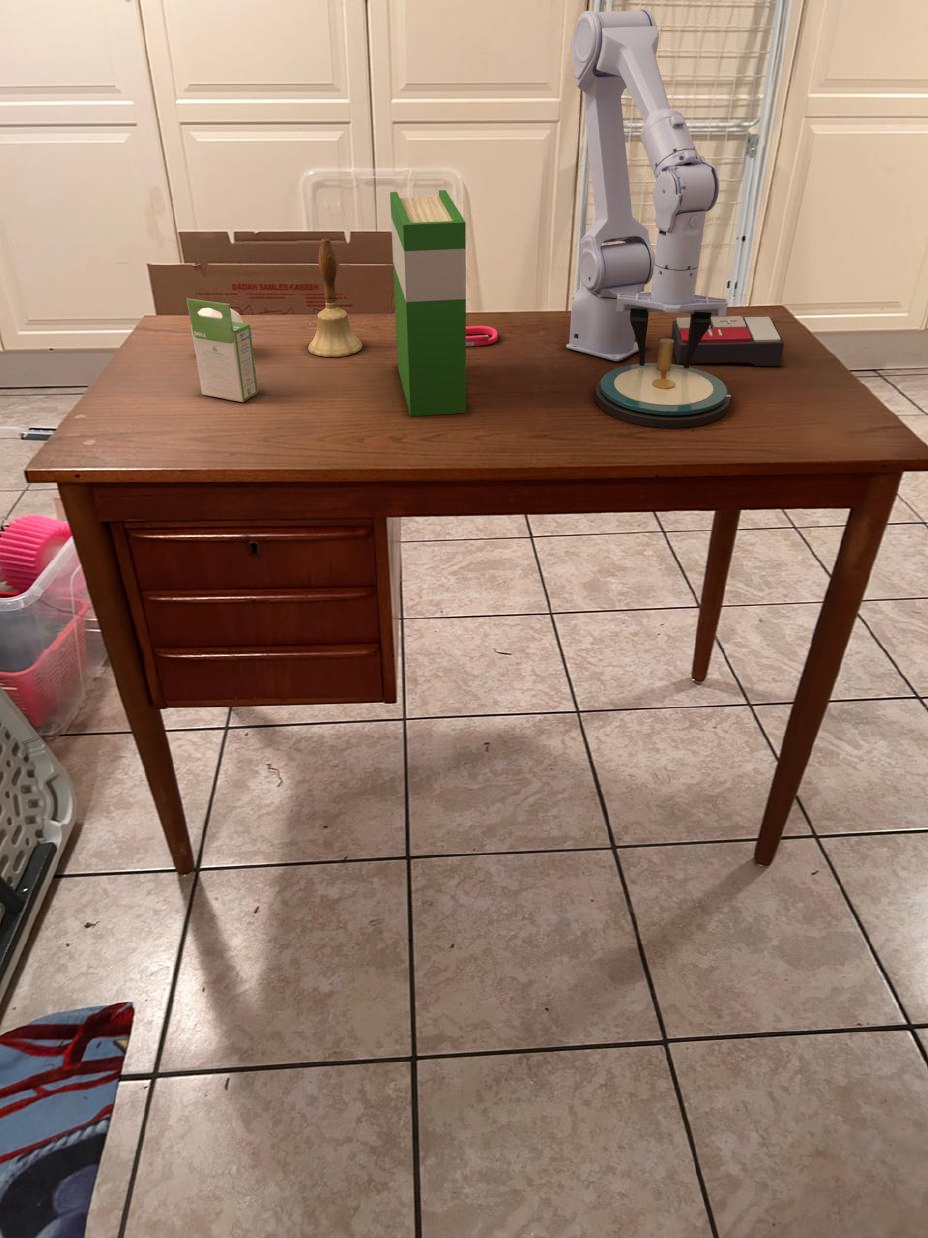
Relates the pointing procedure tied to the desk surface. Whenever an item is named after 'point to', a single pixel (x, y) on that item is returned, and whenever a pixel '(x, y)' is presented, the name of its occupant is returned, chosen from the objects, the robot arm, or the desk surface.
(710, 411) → the stand
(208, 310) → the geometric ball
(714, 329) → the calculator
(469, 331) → the fitness band
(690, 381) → the turntable with peg
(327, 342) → the hand bell
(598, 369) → the desk surface
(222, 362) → the ink box
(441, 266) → the hardback book
